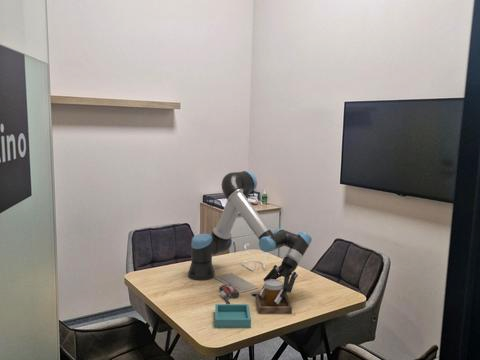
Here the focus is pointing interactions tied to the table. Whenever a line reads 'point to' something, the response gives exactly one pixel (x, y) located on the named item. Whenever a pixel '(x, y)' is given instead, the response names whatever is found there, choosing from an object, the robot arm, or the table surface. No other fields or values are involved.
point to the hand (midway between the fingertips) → (268, 299)
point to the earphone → (253, 260)
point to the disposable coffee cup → (272, 291)
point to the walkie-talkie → (228, 292)
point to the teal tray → (232, 316)
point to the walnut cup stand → (273, 309)
